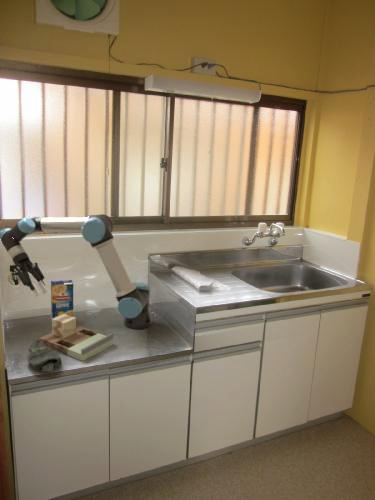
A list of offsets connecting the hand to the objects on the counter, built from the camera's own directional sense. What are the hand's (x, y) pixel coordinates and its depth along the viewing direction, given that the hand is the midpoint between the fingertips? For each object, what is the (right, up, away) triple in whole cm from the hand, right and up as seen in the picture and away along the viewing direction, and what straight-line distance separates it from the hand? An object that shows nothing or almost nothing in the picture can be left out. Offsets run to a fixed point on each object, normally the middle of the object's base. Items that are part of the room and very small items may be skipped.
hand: (42, 293), depth 211 cm
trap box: (+15, -23, -4) cm, 28 cm away
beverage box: (+5, -17, +18) cm, 25 cm away
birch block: (+12, -19, -3) cm, 23 cm away
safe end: (+27, -25, -11) cm, 39 cm away
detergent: (+8, -28, -24) cm, 37 cm away
